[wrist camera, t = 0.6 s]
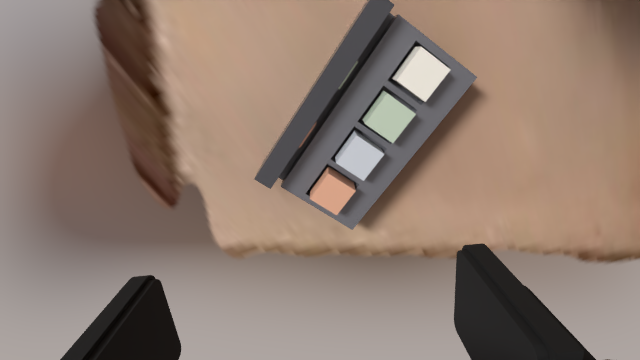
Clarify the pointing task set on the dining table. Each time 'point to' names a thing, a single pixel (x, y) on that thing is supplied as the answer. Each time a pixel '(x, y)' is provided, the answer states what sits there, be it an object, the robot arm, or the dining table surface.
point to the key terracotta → (332, 190)
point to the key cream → (420, 73)
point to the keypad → (361, 110)
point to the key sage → (388, 116)
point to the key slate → (359, 155)
